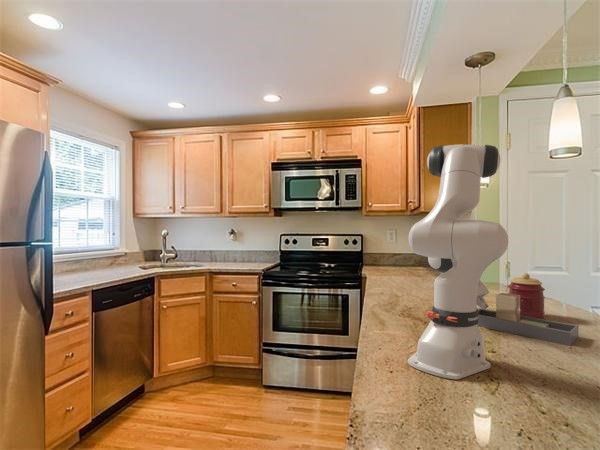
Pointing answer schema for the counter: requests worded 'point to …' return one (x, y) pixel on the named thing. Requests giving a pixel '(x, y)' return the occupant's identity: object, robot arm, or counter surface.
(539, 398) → the counter surface
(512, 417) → the counter surface
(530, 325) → the box
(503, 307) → the block
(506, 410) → the counter surface
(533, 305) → the canister
